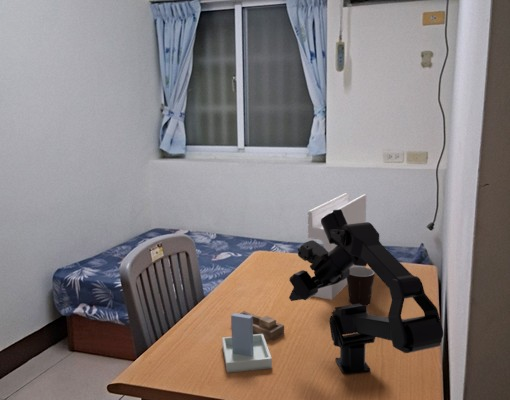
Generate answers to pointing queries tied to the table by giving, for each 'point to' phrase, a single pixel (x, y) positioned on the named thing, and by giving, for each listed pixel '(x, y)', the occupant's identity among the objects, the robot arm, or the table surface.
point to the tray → (247, 363)
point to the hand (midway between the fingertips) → (301, 293)
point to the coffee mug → (360, 285)
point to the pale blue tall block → (242, 334)
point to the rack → (267, 333)
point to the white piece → (352, 214)
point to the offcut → (267, 322)
